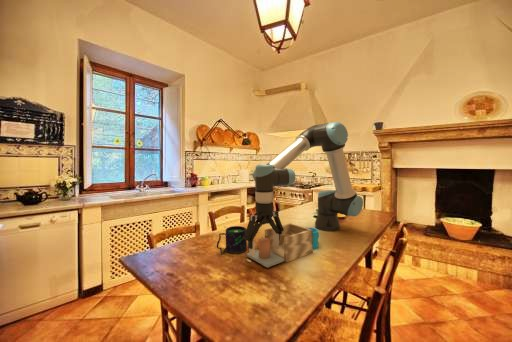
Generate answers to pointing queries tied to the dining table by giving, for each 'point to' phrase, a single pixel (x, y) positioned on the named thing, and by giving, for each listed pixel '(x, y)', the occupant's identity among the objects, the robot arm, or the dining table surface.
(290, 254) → the crate
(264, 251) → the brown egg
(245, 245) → the mug
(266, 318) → the dining table surface
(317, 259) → the dining table surface
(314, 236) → the mug
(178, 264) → the dining table surface
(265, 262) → the panel
